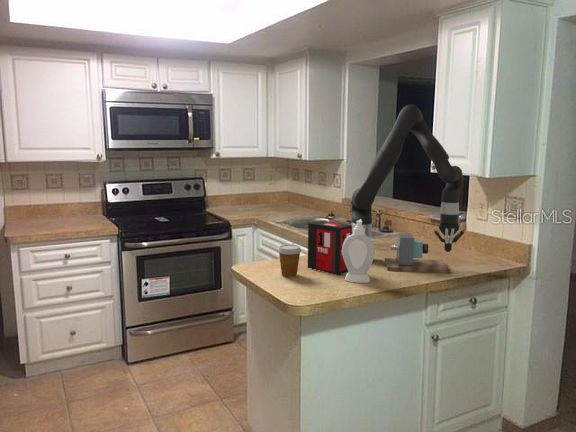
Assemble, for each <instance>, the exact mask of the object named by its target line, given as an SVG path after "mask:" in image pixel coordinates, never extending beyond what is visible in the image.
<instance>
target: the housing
mask: <svg viewBox="0 0 576 432" xmlns="http://www.w3.org/2000/svg"><path fill="white" fill-rule="evenodd" d="M396 237H397V239H396V240H397V241H396V245H399V249H398V250H396V260H397V263H398V265H399V266H413V259H414V258H413V253H414V241H415V237H414V235H413V233H407V232H406V233H404V232H403V233H402V232H398V233H397V236H396Z"/></svg>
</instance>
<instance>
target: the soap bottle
mask: <svg viewBox="0 0 576 432" xmlns="http://www.w3.org/2000/svg"><path fill="white" fill-rule="evenodd" d="M356 222H357V226H355V228H353V234H352V235H349V236H348V237H347V238H346V239H345V240H344V243H343V246H342V255H343V259H344V262H345V264H346V267H347V269H348V272H347V273H345V274H346V275H345V277H344V281H346V282H350V283H354V282H355V283H356V284H369V283H370V282H371V280H370V277H369V274H368V271H369V270H370V268H371V266H372V264H373V261H374V258H375V256H376V255H375V254H376V247H375V244H374V242H373V240H372V238H371V239H370V237H368V236H366V235H365V228H363V226H362V219H360V220H359V221H356Z"/></svg>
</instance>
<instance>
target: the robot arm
mask: <svg viewBox="0 0 576 432" xmlns="http://www.w3.org/2000/svg"><path fill="white" fill-rule="evenodd" d="M410 132H411V133H412V134H413V135H414V136H415V137H416V138H417V140H418V141H419V143H420V144H421V147H422V149H423V150H424V152H425V153H426V155H427V157H428V158H429V160H430V161H431V162H432V164H433V165H434V167H435V171H436V172H437V174H438V175H437V176H438V177H439V178H440V179H441V181H443V182H444V183H445V187H444V189H442V192H441V204H440V213H439V214H440V216H439V217H440V218H439V226H438V228H436V229H433V233H434V234H435V236H437V238H438V239H439V240H440V242H441V243H444V247H443V250H444V251H445V252H446V253H451V251H452V250H453V248H452V247H453V244H454V243H457V242H458V241H459V239H461V237H462V236H463V235H464V233H465V232H464V230H462V229H461V228H460V226H459V220H460V219H459V217H460V216H459V214H460V202H459V201H460V190H461V187H462V183H463V179H464V177H463V175H464V174H463V170H462V169H461V167H459V166H457V165H452V164H451V163H450V160H449V159H450V156H449V154H448V152H447V151H446V149H445V148H444V146H443V145H442V144H441V143H440V142H439V140H438V139H437V138H436V137H435V135H434V134H433V133H432V132H431V130H430V128H429V126H428V125H427V123H426V120H425V118H424V116H423V113H422V111H421V110H420V109H419V107H418V106H417V105H415V104H407V105H405V106H403V108H402V109H401V110H400V111H399V113H398V115H397V118H396V120H395V122H394V124H393V127H392V129H391V130H390V132H389V134H388V135H387V137H386V139H385V141H383V144H382V145H381V147H380V148H379V150H378V152H377V153H376V156H375V157H374V159H373V161H372V164H371V167H370V170H369V172H368V174H367V176H366V179H365V181H364V182H363V183H362V185H361V186H360V187H359V188H356V189H355V190H354V192H353V193H352V196H351V225H352V234H353V228H355V226H357V222H356V221H359V220H360V219H362V226H363V228H365V235H366V236H368V237H370V239H371V240H372V228H373V227H372V226H373V223H372V222H373V216H372V205H373V203H374V201H375V199H376V196H377V194H378V192H379V190H380V189H381V186H382V185H383V184H384V182H385V180H386V179H387V178H388V176H389V174H391V172H392V170H393V168H394V167H395V165H396V163H397V162H398V160H399V158H400V155H401V153H402V150H403V147H404V143H405V140H406V138H407V136H408V134H409V133H410ZM441 234H442V235H443V237H442V236H441Z"/></svg>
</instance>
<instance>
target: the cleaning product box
mask: <svg viewBox="0 0 576 432" xmlns="http://www.w3.org/2000/svg"><path fill="white" fill-rule="evenodd" d="M349 235H352V224H347V223H341V222H340V223H339V222H333V221H325V220H316V221H312V222H308V228H307V236H308V237H307V269H309V268H312V269H311V270H313V269H316V270H315V271H318V270H320V271H319V272H322V271H324V272H323V273H326V272H328V273H327V274H331V273H332V275H335V274H336V275H335V276H341V274H342V275H344V274H347V273H348V269H347V267H346V264H345V262H344V259H343V255H342V246H343V243H344V240H345V239H346V238H347V237H348V236H349ZM346 272H347V273H346Z"/></svg>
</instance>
